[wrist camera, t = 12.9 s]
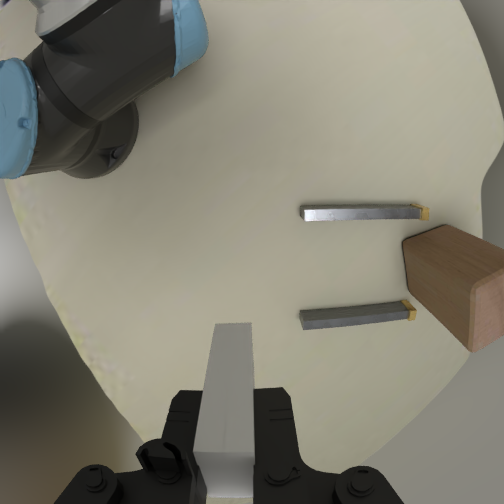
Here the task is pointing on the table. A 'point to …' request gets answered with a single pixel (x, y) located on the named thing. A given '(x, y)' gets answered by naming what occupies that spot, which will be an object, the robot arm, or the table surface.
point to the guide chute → (364, 312)
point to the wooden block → (458, 283)
